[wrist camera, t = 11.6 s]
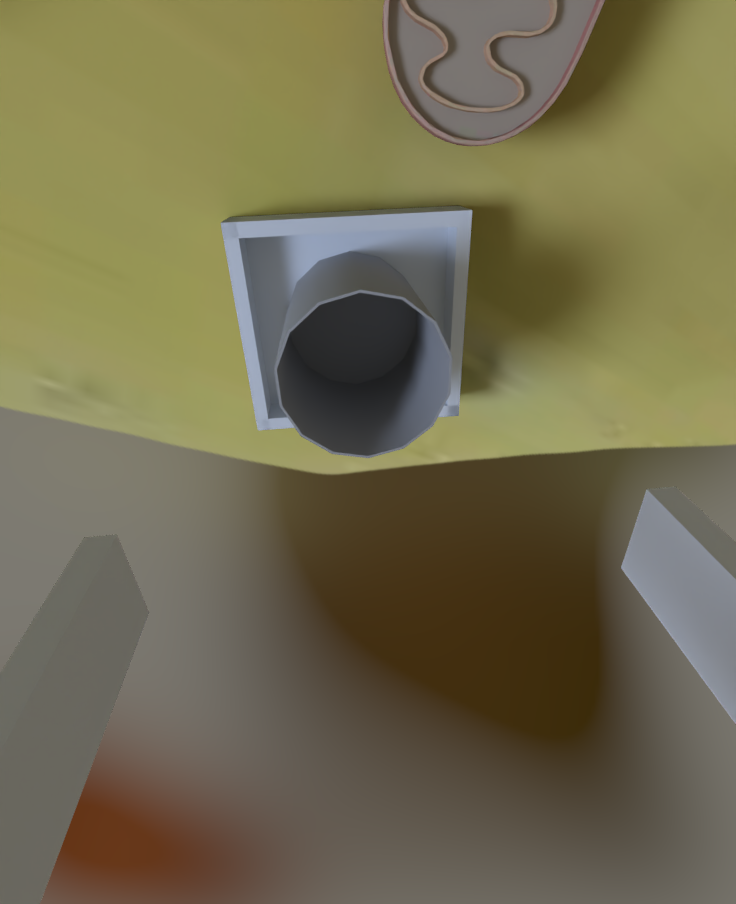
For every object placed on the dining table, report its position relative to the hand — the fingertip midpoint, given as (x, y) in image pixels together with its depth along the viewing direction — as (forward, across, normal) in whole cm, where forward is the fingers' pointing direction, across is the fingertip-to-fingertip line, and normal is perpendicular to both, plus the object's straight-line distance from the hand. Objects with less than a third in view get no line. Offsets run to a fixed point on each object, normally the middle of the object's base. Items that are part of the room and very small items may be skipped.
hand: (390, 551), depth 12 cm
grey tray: (+23, 0, 0) cm, 23 cm away
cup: (+22, 0, 0) cm, 22 cm away
